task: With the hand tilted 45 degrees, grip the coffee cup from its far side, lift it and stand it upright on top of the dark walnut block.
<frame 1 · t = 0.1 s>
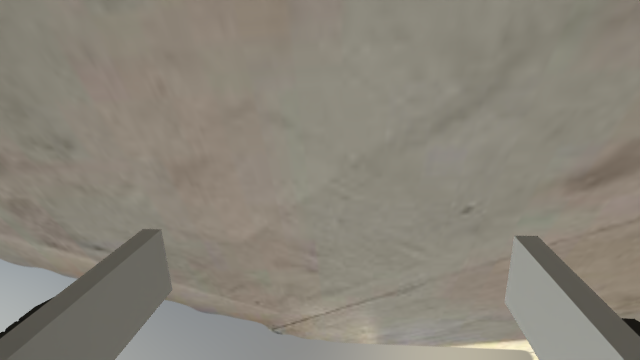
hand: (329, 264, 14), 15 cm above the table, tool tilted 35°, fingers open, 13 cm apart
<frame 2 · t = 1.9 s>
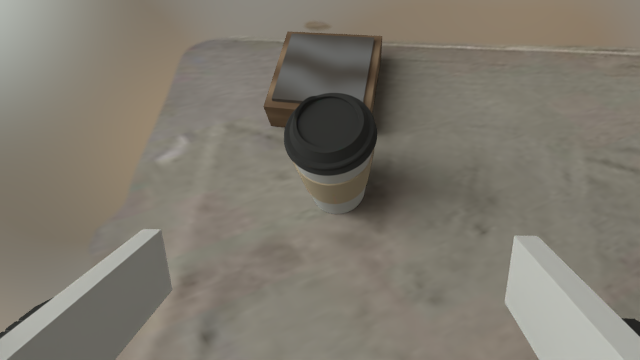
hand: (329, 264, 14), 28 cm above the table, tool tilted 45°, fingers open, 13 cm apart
coffee cup: (338, 189, 46), on the table
walnut block: (327, 91, 54), on the table
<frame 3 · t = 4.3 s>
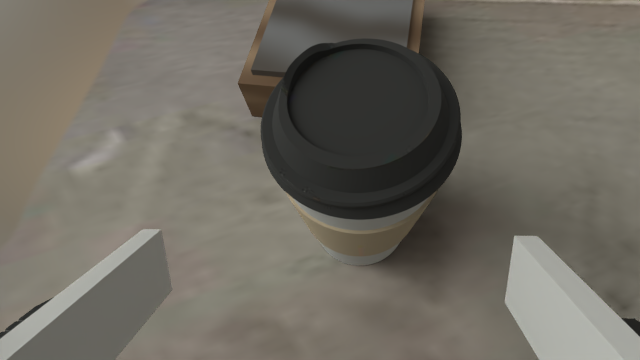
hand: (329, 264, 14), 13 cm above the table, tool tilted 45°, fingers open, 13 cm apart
coffee cup: (359, 222, 28), on the table
walnut block: (340, 64, 35), on the table
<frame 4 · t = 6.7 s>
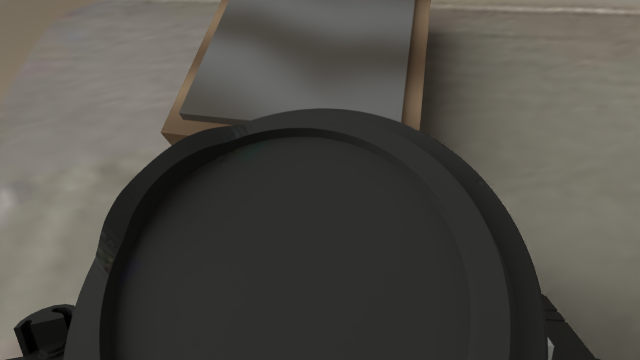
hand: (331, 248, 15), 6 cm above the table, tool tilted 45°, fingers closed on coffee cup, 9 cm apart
coffee cup: (337, 342, 19), on the table, touching gripper
walnut block: (315, 97, 26), on the table
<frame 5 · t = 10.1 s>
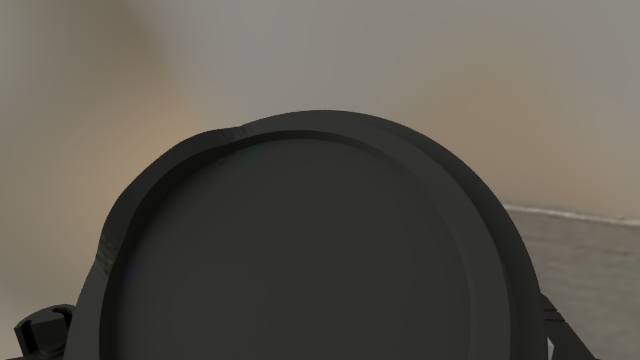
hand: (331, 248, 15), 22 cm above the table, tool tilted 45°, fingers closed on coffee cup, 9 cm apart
coffee cup: (337, 343, 19), point 16 cm above the table, touching gripper
when the fingers open (12 cm above the table, at t = 13.3 s): coffee cup drops 1 cm, resting on walnut block.
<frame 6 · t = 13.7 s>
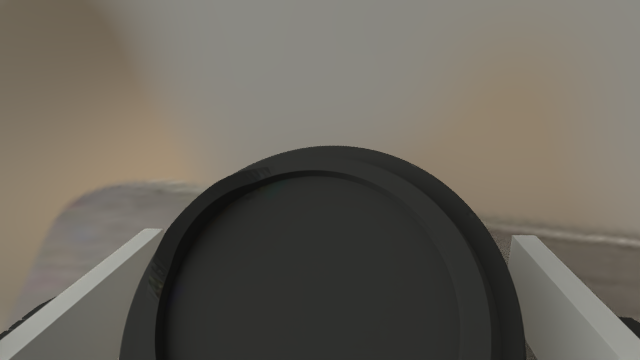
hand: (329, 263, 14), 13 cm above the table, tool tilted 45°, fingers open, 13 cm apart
coffee cup: (343, 346, 20), point 5 cm above the table, touching walnut block
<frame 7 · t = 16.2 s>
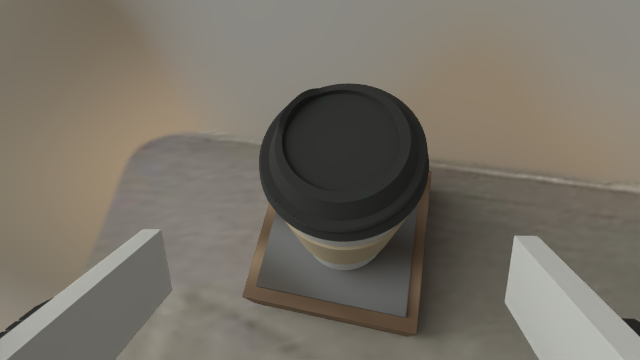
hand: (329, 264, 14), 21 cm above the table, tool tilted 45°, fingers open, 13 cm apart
coffee cup: (345, 230, 31), point 5 cm above the table, touching walnut block
walnut block: (343, 244, 35), on the table
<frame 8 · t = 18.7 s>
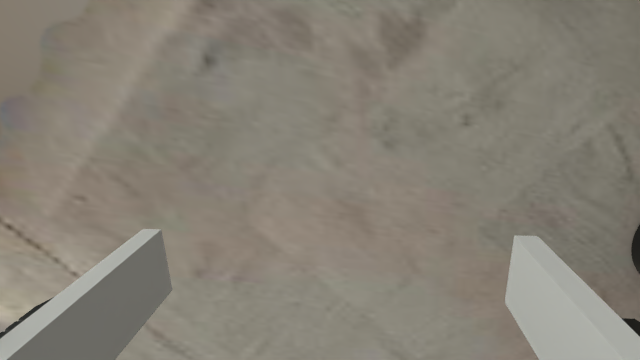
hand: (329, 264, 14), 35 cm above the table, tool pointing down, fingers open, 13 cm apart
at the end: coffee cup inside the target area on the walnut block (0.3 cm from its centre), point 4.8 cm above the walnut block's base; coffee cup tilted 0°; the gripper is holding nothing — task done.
